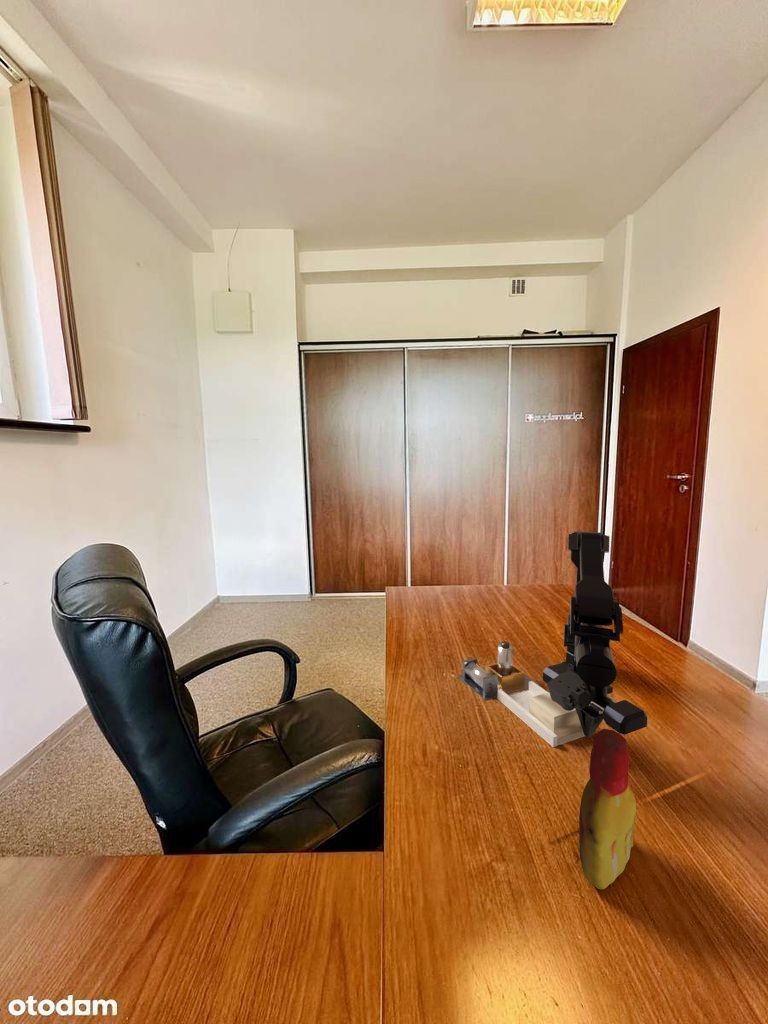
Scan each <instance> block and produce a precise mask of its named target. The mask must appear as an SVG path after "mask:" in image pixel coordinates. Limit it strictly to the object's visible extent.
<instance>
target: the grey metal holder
mask: <svg viewBox="0 0 768 1024" xmlns="http://www.w3.org/2000/svg"><path fill="white" fill-rule="evenodd" d="M477 663H478V661H477V658H476V657H473V658H469V659H464V660H462V673H461V674H458V675H457V678H458V679H460V681H462V682H463V683H464V684H465V685H466V686H468V687H470V688H471V689H472V690H473V691H474V692H476V694H477V695H479V696H480V697H481V698H482V699H483V700H484V701H488V700H492V699H496V698H497V697H498V690H502V691H504V692H505V693H506V694H507V695H512V694H515V693H519V692H523V691H526V690H529V682H530V681H533V682H534V683H536V684H537V685H538V686H541V684H540V683H538V682H537V681H536V680H534V679H533V678H531V677H530V676H528V675H527V674H525V671H523V670H522V669H521V668H519V667H518V666H517V665H515V664H513V663H512V674H511V675H507V676H503V677H502V676H501V675H500V674H498V673H497V665H498V662H495V663H494V662H493V663H490V664H486V665H485V668H482V667H481V666H479V665H478V664H477Z"/></svg>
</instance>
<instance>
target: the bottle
mask: <svg viewBox="0 0 768 1024" xmlns="http://www.w3.org/2000/svg"><path fill="white" fill-rule="evenodd" d="M589 759H590V760H589V772H588V773H589V780H588V781H587V783H586V785H585V786H584V789H583V791H582V795H581V800H580V807H579V818H578V820H579V821H578V829H579V830H578V843H579V844H578V845H579V846H578V847H579V849H578V850H579V858H580V859H579V860H580V863H581V868H582V873H583V875H584V877H585V878H586V880H587V881H588V882H589V884H591V885H592V886H593V887H595V888H597V889H598V890H605V889H606V888H608V886H609V885H611V884H613V883H614V882H615V881H616V879H617V878H618V877H619V876H620V875H621V874H622V873H623V872H624V870H625V869H626V865H627V863H628V861H629V860H630V857H631V848H633V847H634V841H633V839H634V834H635V821H636V815H637V802H636V796H635V795H634V793H633V791H632V789H631V787H630V785H629V768H630V764H629V763H630V751H629V747H628V741H627V739H626V738H625V737H624V736H623V735H622V734H620V733H618V732H617V731H615V730H614V729H608V728H603V729H602V728H601V729H600V730H599V731H598V732H597V733H596V734H595V736H594V739H593V744H592V747H591V751H590V758H589Z"/></svg>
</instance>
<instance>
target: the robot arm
mask: <svg viewBox="0 0 768 1024" xmlns="http://www.w3.org/2000/svg"><path fill="white" fill-rule="evenodd" d="M567 551H570V561H571V562H572V563H573V565H574V566H575V568H576V572H575V573H576V574H575V575H576V576H575V586H574V587H575V588H574V596H570V607H569V608H570V609H569V610H570V611H569V612H570V613H569V614H568V616H567V619H566V620H567V623H564V628H563V647H564V648H566V653H565V661H562V662H560V663H556V664H553V665H549V666H546V667H545V668H544V670H543V671H542V681H543V682H544V683H546V686H547V690H548V692H549V693H550V696H551V699H552V701H554V702H556V703H557V704H559V705H560V706H561V707H562V708H563V709H565V710H567V711H571V710H573V709H574V708H575V709H576V712H577V714H578V717H579V720H580V723H581V726H582V730H583V733H584V737H586V738H587V739H588V738H592V737H593V735H594V734H595V732H596V731H597V729H598V728H599V727H600V725H601V724H602V722H603V721H604V723H605V725H606V726H608V727H609V728H611V730H613V731H615V732H617V733H619V734H620V735H624V736H625V735H628V734H630V733H633V732H636V731H639V730H642V729H644V728H647V727H648V714H647V713H646V711H644V709H642V708H640V707H638V706H637V705H636V704H633V703H632V702H631V701H629V700H628V699H623V700H620V701H617V700H616V699H615V698H613V697H612V696H610V695H609V694H613V693H614V692H613V691H614V687H613V686H611V685H612V684H613V683H614V682H615V680H616V678H617V673H618V672H617V668H616V663H615V659H614V656H613V655H614V654H613V651H612V649H611V641H614V642H621V635H622V634H623V633H624V623H623V607H621V606H620V602H619V601H618V600H615V594H614V589H613V587H612V586H611V585H609V583H607V582H606V580H605V570H604V561H605V555H606V554H607V553H610V536H609V535H605V534H604V533H603V532H597V531H573V532H571V533H569V534H568V536H567ZM612 626H613V628H606V627H612ZM616 701H617V702H616Z"/></svg>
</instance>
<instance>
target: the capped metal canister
mask: <svg viewBox="0 0 768 1024" xmlns="http://www.w3.org/2000/svg"><path fill="white" fill-rule="evenodd" d="M513 649H514V647H513V645H511V644H510V642H509V641H501V642H500V643H499V644H498V645H497V663H498V665H497V673H498V674H500V675H501V676H502V677H503V676H507V675H511V674H512V664H513V658H514V657H513V651H514V650H513Z"/></svg>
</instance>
